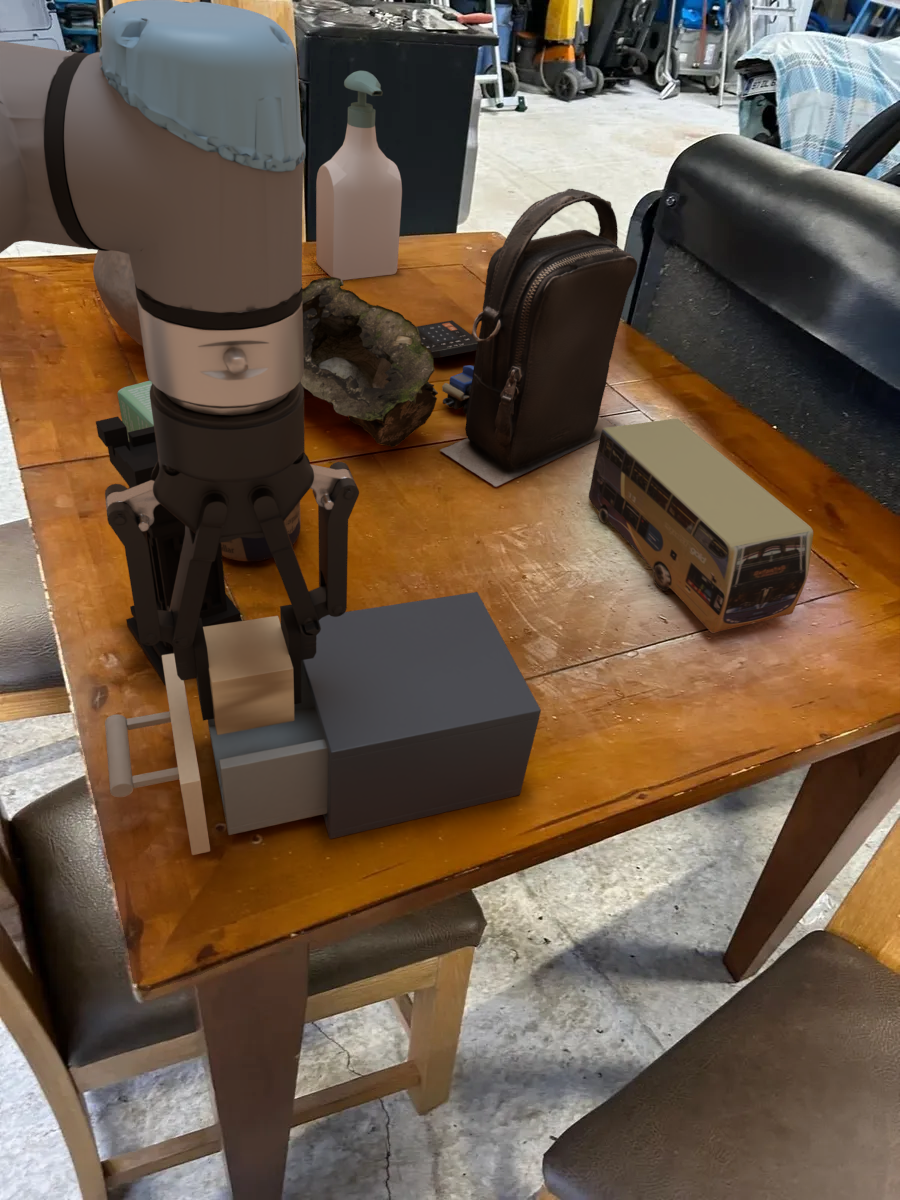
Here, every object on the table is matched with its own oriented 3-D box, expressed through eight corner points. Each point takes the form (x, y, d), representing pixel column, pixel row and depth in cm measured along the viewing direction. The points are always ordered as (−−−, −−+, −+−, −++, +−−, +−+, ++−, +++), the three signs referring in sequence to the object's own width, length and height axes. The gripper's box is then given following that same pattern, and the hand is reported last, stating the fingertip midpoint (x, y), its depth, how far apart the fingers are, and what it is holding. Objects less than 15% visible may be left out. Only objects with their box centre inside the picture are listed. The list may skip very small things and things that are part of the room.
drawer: (124, 871, 58) (105, 799, 53) (113, 738, 66) (96, 665, 60) (386, 811, 63) (392, 741, 58) (347, 696, 71) (350, 625, 66)
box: (186, 429, 100) (179, 368, 95) (249, 487, 93) (245, 425, 88) (124, 447, 96) (113, 385, 91) (185, 510, 89) (176, 446, 84)
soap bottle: (337, 285, 134) (341, 80, 116) (316, 265, 139) (316, 65, 121) (402, 278, 139) (415, 79, 121) (379, 258, 144) (388, 65, 126)
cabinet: (329, 839, 62) (330, 752, 56) (293, 707, 71) (290, 619, 64) (520, 795, 66) (541, 710, 60) (464, 676, 75) (477, 591, 69)
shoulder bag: (565, 398, 114) (613, 166, 96) (620, 428, 110) (682, 191, 91) (438, 452, 101) (466, 196, 83) (495, 489, 97) (537, 227, 78)
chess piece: (165, 685, 71) (130, 476, 58) (127, 626, 76) (87, 420, 63) (256, 649, 75) (243, 446, 62) (215, 595, 80) (195, 395, 66)
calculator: (451, 325, 127) (453, 305, 125) (497, 361, 120) (500, 340, 118) (395, 336, 123) (396, 315, 121) (439, 373, 116) (441, 351, 114)
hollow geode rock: (415, 502, 102) (503, 402, 99) (346, 456, 91) (443, 342, 89) (306, 385, 118) (380, 296, 115) (238, 334, 107) (317, 236, 105)
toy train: (569, 372, 120) (576, 336, 117) (456, 422, 107) (460, 384, 103) (547, 361, 122) (554, 326, 118) (434, 409, 109) (437, 371, 105)
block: (217, 735, 57) (211, 682, 54) (206, 680, 60) (200, 626, 57) (294, 721, 58) (293, 668, 55) (280, 667, 62) (278, 615, 58)
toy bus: (705, 644, 81) (737, 555, 74) (581, 508, 97) (598, 427, 91) (791, 623, 84) (828, 537, 78) (658, 496, 100) (679, 416, 94)
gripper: (30, 435, 39) (110, 767, 54) (422, 404, 44) (394, 713, 59) (30, 355, 44) (103, 680, 59) (381, 337, 49) (365, 637, 65)
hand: (249, 696), depth 59 cm, fingers closed on block, 5 cm apart
